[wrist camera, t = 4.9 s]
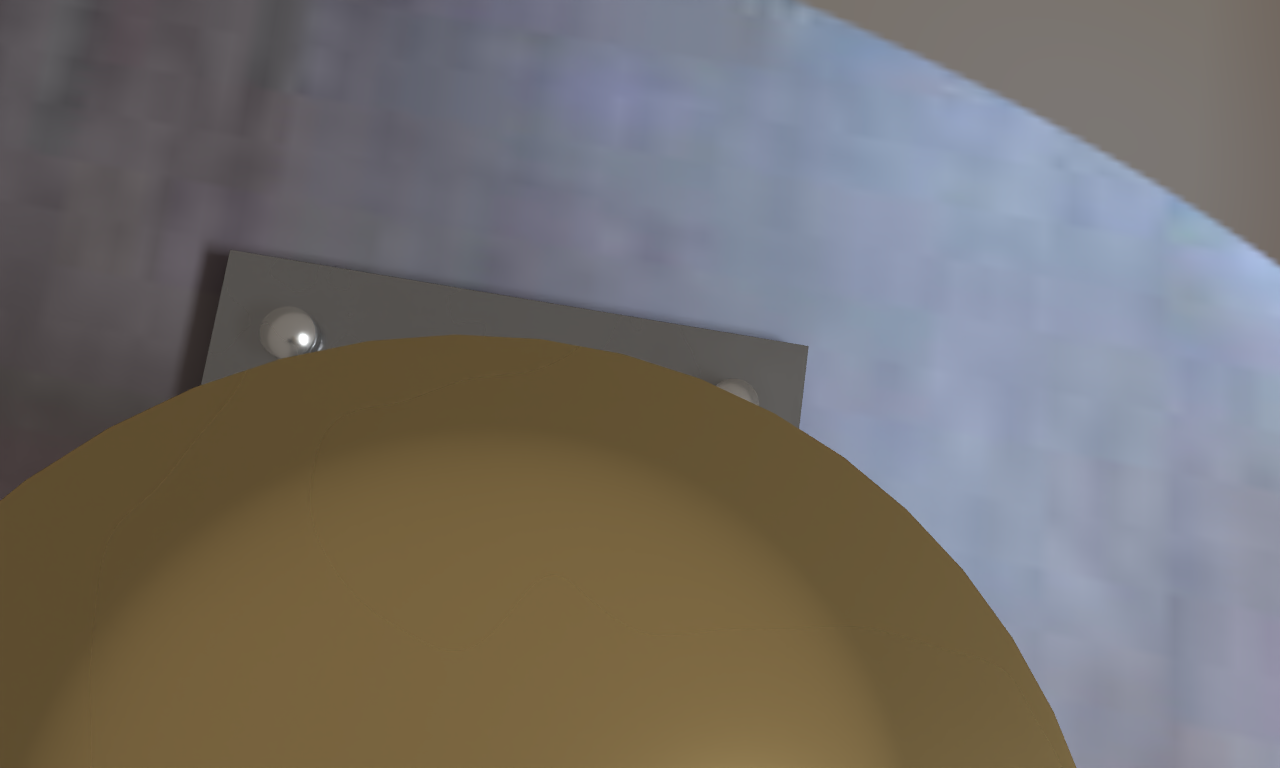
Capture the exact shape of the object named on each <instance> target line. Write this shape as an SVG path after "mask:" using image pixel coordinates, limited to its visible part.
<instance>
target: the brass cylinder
mask: <svg viewBox="0 0 1280 768" xmlns="http://www.w3.org/2000/svg"><path fill="white" fill-rule="evenodd" d="M0 768H1076V766H1075V763H1074V761H1073V758H1072V756H1071V754H1070V751H1069V749H1068V746H1067V744H1066V741H1065V739H1064V736H1063V734H1062V731H1061V729H1060V727H1059V724H1058V722H1057V719H1056V717H1055V714H1054V712H1053V710H1052V708H1051V707H1050V705H1049V703H1048V701H1047V699H1046V698H1045V696H1044V694H1043V692H1042V690H1041V689H1040V687H1039V685H1038V683H1037V681H1036V680H1035V678H1034V676H1033V674H1032V672H1031V671H1030V669H1029V667H1028V665H1027V663H1026V662H1025V660H1024V658H1023V656H1022V654H1021V653H1020V651H1019V649H1018V647H1017V645H1016V644H1015V642H1014V640H1013V638H1012V637H1011V635H1010V634H1009V633H1008V631H1007V630H1006V628H1005V627H1004V626H1003V624H1002V623H1001V622H1000V620H999V619H998V617H997V616H996V615H995V613H994V612H993V610H992V609H991V608H990V606H989V605H988V604H987V602H986V601H985V599H984V598H983V597H982V595H981V594H980V593H979V591H978V590H977V588H976V587H975V586H974V584H973V583H972V582H971V580H970V579H969V577H968V576H967V575H966V573H965V572H964V571H963V569H962V568H961V567H960V566H959V565H958V564H957V563H956V562H955V561H954V560H953V559H952V558H951V557H950V555H949V554H948V553H947V552H946V551H945V550H944V549H943V548H942V547H941V546H940V545H939V544H938V543H937V542H936V540H935V539H934V538H933V537H932V536H931V535H930V534H929V533H928V532H927V531H926V530H925V529H924V528H923V527H922V525H921V524H920V523H919V522H918V521H917V520H916V519H915V518H914V517H913V516H912V515H911V514H910V513H909V512H908V511H907V510H906V509H905V508H904V507H903V506H902V505H900V504H899V503H898V502H897V501H896V500H894V499H893V498H892V497H891V496H890V495H888V494H887V493H886V492H885V491H884V490H882V489H881V488H880V487H879V486H878V485H876V484H875V483H874V482H873V481H872V480H870V479H869V478H868V477H867V476H866V475H864V474H863V473H862V472H861V471H860V470H858V469H857V468H856V467H855V466H854V465H852V464H851V463H850V462H849V461H848V460H846V459H845V458H844V457H842V456H841V455H839V454H838V453H836V452H835V451H833V450H831V449H830V448H828V447H827V446H825V445H824V444H822V443H820V442H819V441H817V440H816V439H814V438H813V437H811V436H809V435H808V434H806V433H805V432H803V431H801V430H800V429H798V428H797V427H795V426H794V425H792V424H790V423H789V422H787V421H786V420H784V419H783V418H781V417H779V416H778V415H776V414H775V413H772V412H770V411H768V410H766V409H764V408H762V407H760V406H758V405H755V404H753V403H751V402H749V401H747V400H745V399H743V398H740V397H738V396H736V395H734V394H732V393H730V392H728V391H726V390H723V389H721V388H719V387H717V386H715V385H713V384H711V383H708V382H706V381H704V380H702V379H699V378H696V377H693V376H690V375H687V374H684V373H681V372H677V371H674V370H671V369H668V368H665V367H662V366H659V365H655V364H652V363H649V362H646V361H643V360H640V359H637V358H634V357H630V356H627V355H624V354H620V353H614V352H609V351H603V350H598V349H592V348H587V347H581V346H576V345H571V344H565V343H560V342H554V341H549V340H543V339H530V338H512V337H493V336H474V335H443V336H429V337H416V338H402V339H389V340H375V341H366V342H361V343H356V344H351V345H346V346H341V347H336V348H331V349H326V350H321V351H316V352H311V353H307V354H302V355H297V356H292V357H287V358H282V359H279V360H276V361H273V362H270V363H267V364H264V365H261V366H258V367H255V368H252V369H249V370H246V371H243V372H239V373H236V374H233V375H230V376H227V377H224V378H221V379H218V380H215V381H212V382H209V383H206V384H203V385H200V386H197V387H194V388H192V389H190V390H188V391H186V392H184V393H182V394H180V395H177V396H175V397H173V398H171V399H169V400H167V401H165V402H163V403H161V404H158V405H156V406H154V407H152V408H150V409H148V410H146V411H144V412H142V413H139V414H137V415H135V416H133V417H131V418H129V419H127V420H125V421H123V422H120V423H118V424H116V425H114V426H112V427H110V428H108V429H106V430H105V431H103V432H102V433H100V434H98V435H97V436H95V437H94V438H92V439H90V440H89V441H87V442H86V443H84V444H83V445H81V446H79V447H78V448H76V449H75V450H73V451H71V452H70V453H68V454H67V455H65V456H64V457H62V458H60V459H59V460H57V461H56V462H54V463H52V464H51V465H49V466H48V467H46V468H44V469H43V470H41V471H40V472H38V473H37V474H35V475H33V476H32V477H30V478H29V479H27V480H25V481H24V482H23V483H22V484H20V485H19V486H18V487H17V488H16V489H14V490H13V491H12V492H11V493H9V494H8V495H7V496H6V497H4V498H3V499H2V500H1V501H0Z"/></svg>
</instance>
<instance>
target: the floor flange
mask: <svg viewBox="0 0 1280 768" xmlns="http://www.w3.org/2000/svg"><path fill="white" fill-rule="evenodd" d="M443 335H474V336H493V337H512V338H530V339H543V340H549V341H554V342H560V343H565V344H571V345H576V346H581V347H587V348H592V349H598V350H603V351H609V352H614V353H620V354H624V355H627V356H630V357H634V358H637V359H640V360H643V361H646V362H649V363H652V364H655V365H659V366H662V367H665V368H668V369H671V370H674V371H677V372H681V373H684V374H687V375H690V376H693V377H696V378H699V379H702V380H704V381H706V382H708V383H711V384H713V385H715V386H717V387H719V388H721V389H723V390H726V391H728V392H730V393H732V394H734V395H736V396H738V397H740V398H743V399H745V400H747V401H749V402H751V403H753V404H755V405H758V406H760V407H762V408H764V409H766V410H768V411H770V412H772V413H775V414H776V415H778V416H779V417H781V418H783V419H784V420H786V421H787V422H789V423H790V424H792V425H794V426H795V427H797V428H798V429H799V424H800V415H801V406H802V398H803V389H804V381H805V372H806V363H807V355H808V346H804V345H798V344H792V343H786V342H780V341H774V340H768V339H762V338H756V337H750V336H744V335H738V334H732V333H726V332H720V331H714V330H708V329H702V328H696V327H690V326H684V325H678V324H672V323H666V322H660V321H654V320H648V319H642V318H636V317H630V316H624V315H618V314H612V313H606V312H600V311H594V310H588V309H582V308H576V307H570V306H564V305H558V304H552V303H546V302H540V301H534V300H528V299H522V298H516V297H510V296H504V295H498V294H492V293H486V292H480V291H474V290H468V289H462V288H456V287H450V286H444V285H438V284H432V283H426V282H420V281H414V280H408V279H402V278H396V277H390V276H384V275H378V274H372V273H366V272H360V271H354V270H348V269H342V268H336V267H330V266H324V265H318V264H312V263H306V262H300V261H294V260H288V259H282V258H276V257H270V256H264V255H258V254H252V253H246V252H240V251H234V250H230V253H229V258H228V262H227V267H226V272H225V276H224V281H223V286H222V290H221V295H220V299H219V304H218V309H217V313H216V318H215V322H214V327H213V332H212V336H211V341H210V346H209V350H208V355H207V359H206V364H205V369H204V373H203V378H202V383H201V385H203V384H206V383H209V382H212V381H215V380H218V379H221V378H224V377H227V376H230V375H233V374H236V373H239V372H243V371H246V370H249V369H252V368H255V367H258V366H261V365H264V364H267V363H270V362H273V361H276V360H279V359H282V358H287V357H292V356H297V355H302V354H307V353H311V352H316V351H321V350H326V349H331V348H336V347H341V346H346V345H351V344H356V343H361V342H366V341H375V340H389V339H402V338H416V337H429V336H443Z"/></svg>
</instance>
